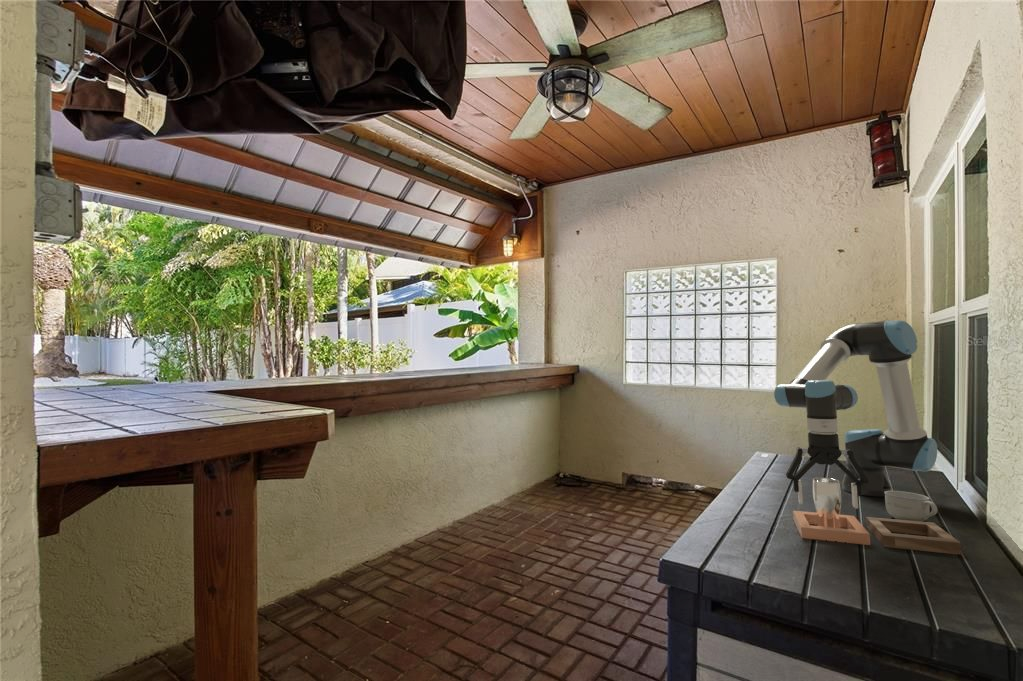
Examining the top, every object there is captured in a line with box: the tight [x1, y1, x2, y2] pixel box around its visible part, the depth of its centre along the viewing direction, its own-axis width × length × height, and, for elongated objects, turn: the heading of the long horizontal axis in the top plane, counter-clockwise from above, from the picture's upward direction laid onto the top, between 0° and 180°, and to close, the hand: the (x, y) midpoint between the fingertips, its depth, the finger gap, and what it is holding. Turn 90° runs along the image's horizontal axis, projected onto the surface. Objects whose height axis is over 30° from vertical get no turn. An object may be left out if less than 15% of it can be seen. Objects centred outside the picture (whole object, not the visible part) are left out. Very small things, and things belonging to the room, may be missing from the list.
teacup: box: [884, 490, 938, 522], centre depth 143 cm, size 14×11×8 cm
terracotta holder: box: [792, 510, 871, 546], centre depth 137 cm, size 16×16×3 cm
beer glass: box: [812, 477, 842, 528], centre depth 137 cm, size 7×7×15 cm
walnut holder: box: [865, 516, 963, 556], centre depth 129 cm, size 16×16×3 cm
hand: (827, 505), depth 137 cm, fingers open, 13 cm apart
